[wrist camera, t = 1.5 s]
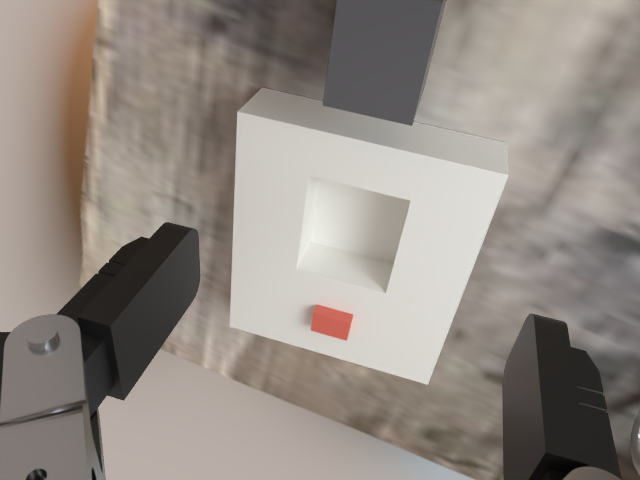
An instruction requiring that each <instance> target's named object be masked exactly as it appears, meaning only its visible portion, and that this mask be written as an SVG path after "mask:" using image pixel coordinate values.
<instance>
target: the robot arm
mask: <svg viewBox="0 0 640 480" xmlns="http://www.w3.org/2000/svg"><path fill="white" fill-rule="evenodd" d="M199 282H200V260H199V237H198V232H197V230H196V229H193V228H189V227H185V226H181V225H177V224H173V223H169V222H166V223H164V224H163V225H162V226H161V227H160V228H159V229H158V230H157V231H156V232H155V233H154V234H153V235H152V237H151V238H150V239H148V238H144V237H140V238H138V239H136V240H134V241H132V242H130V243H128V244H126V245H124V246H123V247H121V249H120V250H119V251H118V252H117V253H116V254H115V255H114V256H113V257H112V258H111V259H110V260H109V263H106V264H105V265H104V266H103V267H102V268H101V269H100V270H99V273H98V274H95V275H94V276H93V277H92V278H91V279H90V280H89V281H88V282H87V283H86V284H85V285H84V286H83V288H82V289H81V290H80V291H79V292H78V293H77V294H76V295H75V296H74V297H73V298H72V299H71V300H70V301H69V302H68V303H67V304H66V305H65V306H64V307H63V308H62V309H61V310H60V311H59V312H58V313H57V314H50V315H43V316H38V317H35V318H32V319H29V320H27V321H25V322H23V323H21V324H20V325H18V327H16V328H15V329H14V330H13V331H12V332H0V480H106V478H105V468H104V458H103V448H102V438H101V428H100V417H99V411H98V407H99V405H100V404H101V403H102V401H103V400H104V399H105V397H106V396H107V395H108V396H111V397H114V398H117V399H121V400H124V399H125V398H126V397H127V395H128V394H129V392H130V391H131V389H132V388H133V387H134V385H135V384H136V382H137V381H138V379H139V378H140V376H141V375H142V374H143V372H144V371H145V369H146V368H147V366H148V365H149V363H150V362H151V360H152V359H153V358H154V356H155V355H156V353H157V352H158V350H159V349H160V348H161V346H162V345H163V343H164V342H165V340H166V339H167V337H168V336H169V335H170V333H171V332H172V330H173V329H174V327H175V326H176V324H177V323H178V322H179V320H180V319H181V317H182V316H183V314H184V313H185V311H186V310H187V309H188V307H189V306H190V304H191V303H192V301H193V300H194V298H195V296H196V293H197V291H198V287H199ZM502 396H503V462H504V480H622V478H621V475H620V470H619V465H618V460H617V455H616V450H615V446H614V441H613V436H612V431H611V426H610V421H609V417H608V413H606V410H607V407H606V402H605V397H604V396H603V388H602V383H601V378H600V373H599V370H598V369H597V367H596V366H595V364H594V363H593V361H592V360H591V358H590V357H589V355H588V354H587V352H586V351H584V350H580V349H576V348H572V347H570V340H569V334H568V328H567V324H566V323H565V322H563V321H559V320H555V319H551V318H547V317H543V316H539V315H535V314H529V315H528V317H527V318H526V320H525V322H524V324H523V327H522V329H521V331H520V333H519V335H518V337H517V340H516V342H515V344H514V346H513V348H512V350H511V353H510V355H509V357H508V359H507V362H506V365H505V369H504V374H503V382H502Z"/></svg>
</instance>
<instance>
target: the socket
mask: <svg viewBox="0 0 640 480" xmlns="http://www.w3.org/2000/svg"><path fill="white" fill-rule="evenodd" d="M508 175H509V174H508V151H507V143H505V142H501V141H496V140H492V139H488V138H483V137H479V136H474V135H470V134H466V133H461V132H457V131H452V130H448V129H443V128H439V127H435V126H430V125H426V124H421V123H417V122H413V125H412V126H410V125H405V124H401V123H397V122H392V121H388V120H383V119H379V118H375V117H370V116H366V115H362V114H357V113H353V112H348V111H344V110H340V109H335V108H331V107H326V106H323V101H320V100H316V99H311V98H307V97H302V96H298V95H294V94H289V93H285V92H280V91H276V90H272V89H267V88H263V87H262V88H261V89H260V90H259V91H258V92H257V93H256V94H255V95H254V96H253V97H252V98H251V99H250V100H249V101H248V102H247V103H246V104H245V105H244V106H243V107H242V108H240V109H239V110H238V111H237V136H236V164H235V192H234V220H233V248H232V276H231V304H230V327H233V328H236V329H240V330H243V331H247V332H250V333H253V334H257V335H260V336H264V337H267V338H270V339H274V340H277V341H281V342H284V343H287V344H291V345H294V346H298V347H301V348H304V349H308V350H311V351H315V352H318V353H322V354H325V355H328V356H332V357H335V358H339V359H342V360H345V361H349V362H352V363H356V364H359V365H362V366H366V367H369V368H373V369H376V370H380V371H383V372H386V373H390V374H393V375H397V376H400V377H403V378H407V379H410V380H414V381H417V382H420V383H424V384H427V385H428V383H429V380H430V378H431V375H432V372H433V370H434V367H435V365H436V362H437V359H438V357H439V354H440V352H441V349H442V346H443V344H444V341H445V339H446V336H447V333H448V331H449V328H450V326H451V323H452V320H453V318H454V315H455V313H456V310H457V308H458V305H459V302H460V300H461V297H462V295H463V292H464V289H465V287H466V284H467V282H468V279H469V276H470V274H471V271H472V269H473V266H474V263H475V261H476V258H477V256H478V253H479V250H480V248H481V245H482V243H483V240H484V238H485V235H486V232H487V230H488V227H489V225H490V222H491V219H492V217H493V214H494V212H495V209H496V206H497V204H498V201H499V199H500V196H501V193H502V191H503V188H504V186H505V183H506V180H507V178H508Z"/></svg>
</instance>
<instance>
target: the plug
mask: <svg viewBox="0 0 640 480" xmlns="http://www.w3.org/2000/svg"><path fill="white" fill-rule="evenodd" d="M445 2H446V0H337V4H336V11H335V19H334V26H333V33H332V41H331V48H330V56H329V63H328V70H327V78H326V85H325V92H324V100H323V106H326V107H331V108H335V109H340V110H344V111H348V112H353V113H357V114H362V115H366V116H370V117H375V118H379V119H383V120H388V121H392V122H397V123H401V124H405V125H410V126H412V125H413V122H414V118H415V115H416V112H417V109H418V106H419V103H420V99H421V96H422V93H423V90H424V87H425V83H426V79H427V75H428V71H429V67H430V63H431V59H432V55H433V51H434V47H435V43H436V38H437V34H438V30H439V26H440V22H441V18H442V14H443V10H444V6H445Z"/></svg>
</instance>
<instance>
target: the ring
mask: <svg viewBox="0 0 640 480" xmlns="http://www.w3.org/2000/svg"><path fill="white" fill-rule="evenodd" d="M630 449H631V456H632V460H633V463H634V466H635V468H636V470H637V472H638V474H639V475H640V410H639V412H638V414H637V416H636V418H635V421H634V424H633V428H632V432H631V440H630Z"/></svg>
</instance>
